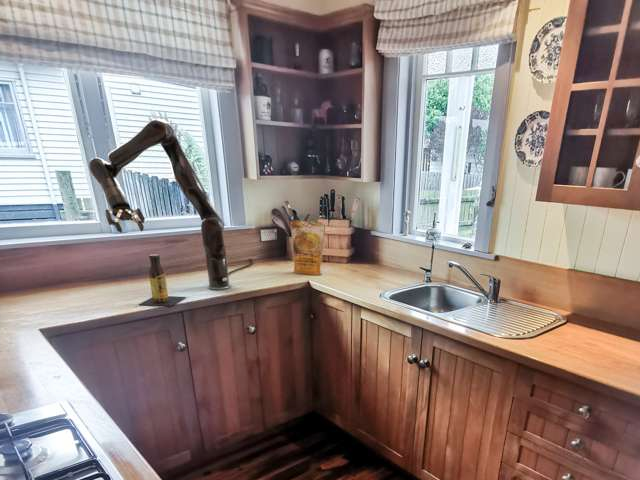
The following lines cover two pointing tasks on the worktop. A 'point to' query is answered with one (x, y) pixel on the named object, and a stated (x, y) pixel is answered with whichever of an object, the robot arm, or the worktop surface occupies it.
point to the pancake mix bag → (307, 246)
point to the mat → (169, 303)
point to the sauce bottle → (157, 280)
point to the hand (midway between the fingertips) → (131, 230)
